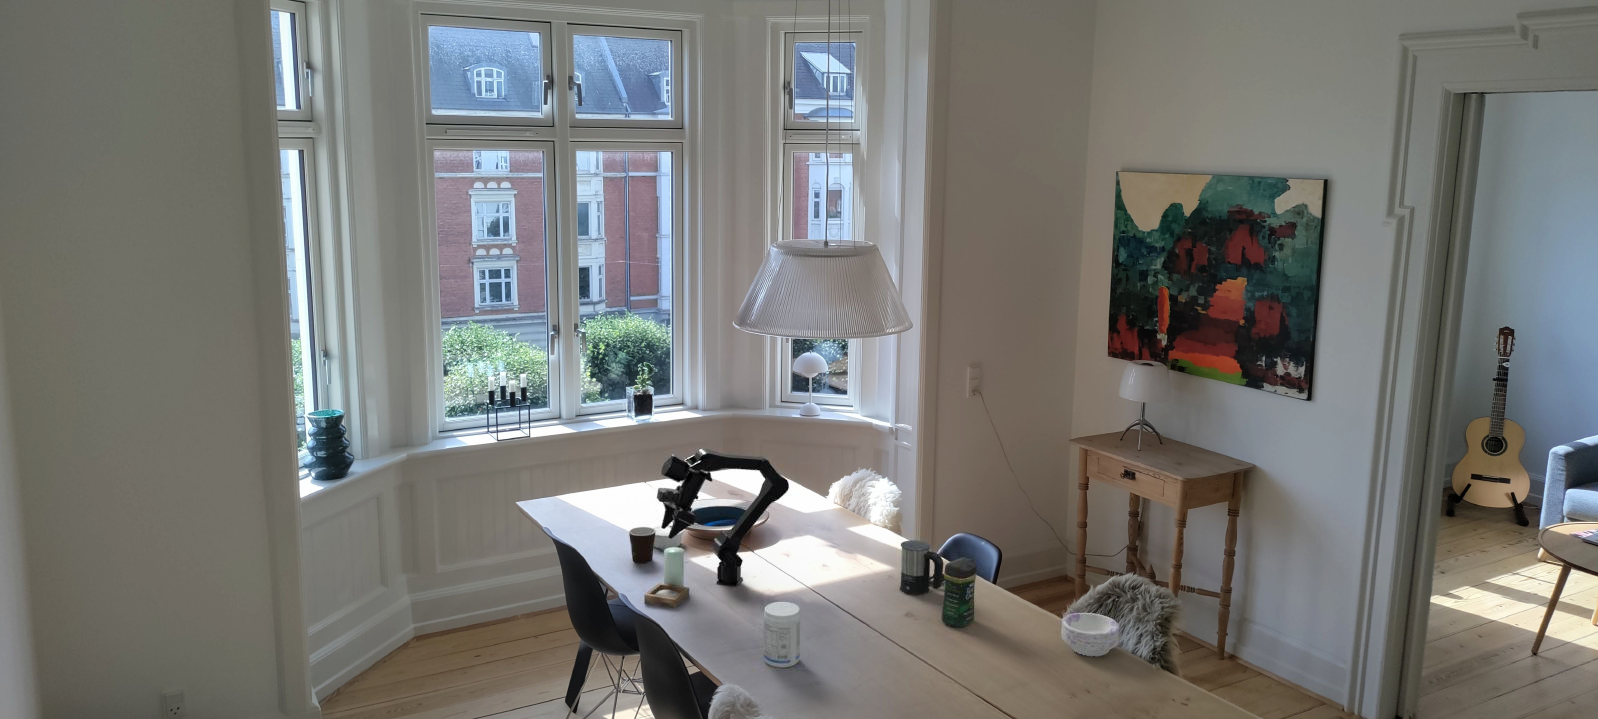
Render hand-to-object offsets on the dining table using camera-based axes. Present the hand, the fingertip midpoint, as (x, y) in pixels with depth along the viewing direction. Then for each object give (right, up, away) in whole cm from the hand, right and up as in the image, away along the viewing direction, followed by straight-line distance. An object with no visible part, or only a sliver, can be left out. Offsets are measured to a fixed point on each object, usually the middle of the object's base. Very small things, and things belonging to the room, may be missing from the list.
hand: (666, 533), depth 329 cm
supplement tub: (+36, -27, -43) cm, 62 cm away
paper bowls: (+120, -27, -33) cm, 127 cm away
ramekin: (-5, -11, +42) cm, 44 cm away
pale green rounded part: (+2, -18, +4) cm, 18 cm away
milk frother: (+79, -19, +9) cm, 82 cm away
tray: (+1, -19, -5) cm, 20 cm away
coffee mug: (-11, -13, +28) cm, 33 cm away
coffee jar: (+86, -23, -17) cm, 91 cm away
